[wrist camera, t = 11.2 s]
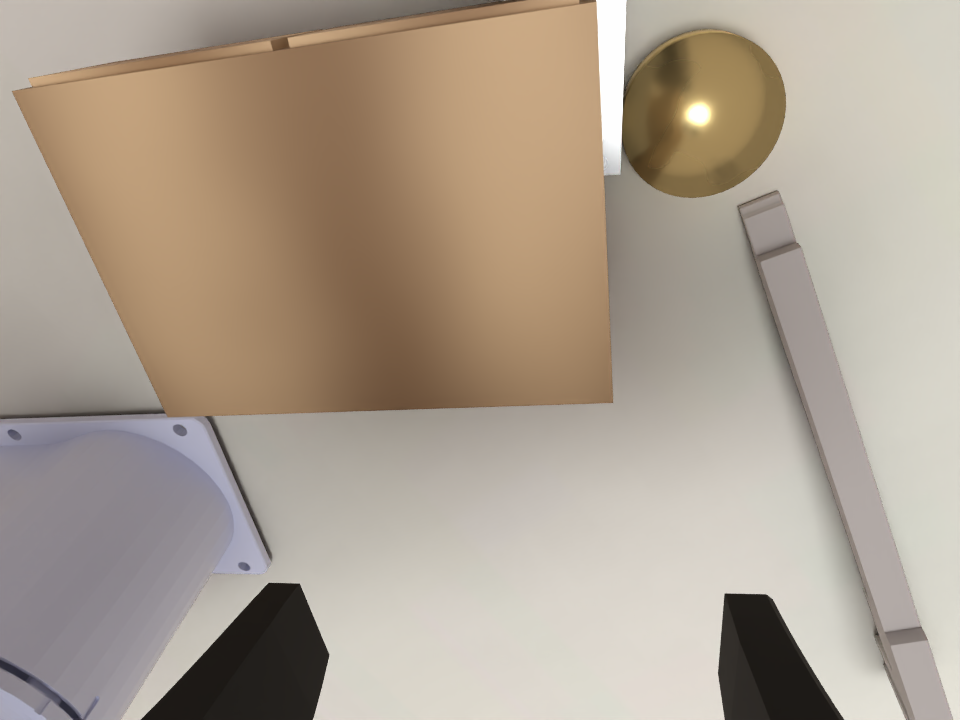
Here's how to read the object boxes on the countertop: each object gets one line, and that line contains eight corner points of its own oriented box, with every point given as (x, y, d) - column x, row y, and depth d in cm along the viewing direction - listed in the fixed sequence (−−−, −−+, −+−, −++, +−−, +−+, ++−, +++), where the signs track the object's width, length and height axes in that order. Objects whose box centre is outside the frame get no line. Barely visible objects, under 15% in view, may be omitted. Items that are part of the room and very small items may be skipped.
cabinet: (278, 299, 20) (167, 417, 14) (195, 46, 16) (7, 82, 11) (605, 276, 18) (613, 402, 13) (592, -17, 14) (596, -11, 9)
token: (615, 185, 17) (617, 199, 16) (622, 33, 15) (625, 37, 14) (759, 182, 16) (770, 196, 15) (785, 23, 14) (800, 27, 13)
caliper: (912, 661, 25) (1003, 850, 19) (881, 665, 25) (961, 852, 20) (775, 185, 16) (868, 288, 11) (731, 203, 17) (800, 310, 11)
